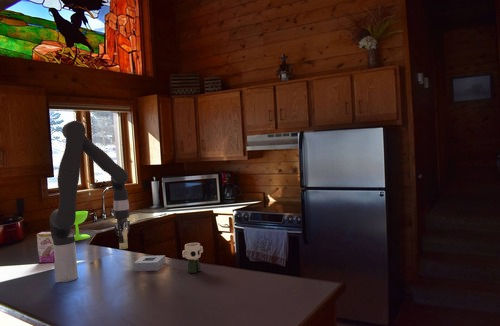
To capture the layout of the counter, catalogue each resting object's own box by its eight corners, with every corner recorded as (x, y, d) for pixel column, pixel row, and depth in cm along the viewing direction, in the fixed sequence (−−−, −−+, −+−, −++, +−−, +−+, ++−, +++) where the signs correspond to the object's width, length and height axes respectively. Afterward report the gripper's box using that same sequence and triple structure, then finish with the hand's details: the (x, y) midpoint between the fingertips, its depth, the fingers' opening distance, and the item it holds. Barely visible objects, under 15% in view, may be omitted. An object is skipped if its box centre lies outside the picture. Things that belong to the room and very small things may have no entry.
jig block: (157, 270, 192) (157, 262, 192) (134, 271, 193) (133, 263, 193) (165, 263, 204) (165, 255, 204) (143, 263, 205) (142, 256, 205)
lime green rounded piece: (60, 240, 277) (58, 215, 276) (76, 235, 293) (74, 211, 292) (79, 241, 273) (77, 215, 272) (94, 235, 288) (92, 211, 287)
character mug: (188, 276, 180) (186, 248, 179) (180, 273, 185) (178, 245, 185) (208, 270, 187) (206, 243, 186) (200, 267, 192) (198, 241, 192)
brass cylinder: (125, 249, 202) (124, 229, 202) (118, 249, 203) (117, 229, 202) (129, 247, 206) (127, 228, 206) (121, 247, 207) (120, 228, 206)
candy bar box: (38, 263, 220) (35, 234, 220) (43, 260, 225) (41, 232, 225) (57, 262, 219) (54, 233, 218) (62, 260, 224) (60, 231, 223)
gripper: (122, 210, 196) (124, 245, 197) (133, 206, 211) (135, 238, 211) (108, 211, 197) (110, 245, 198) (120, 207, 211) (122, 239, 212)
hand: (123, 241), depth 204 cm, fingers closed on brass cylinder, 4 cm apart
